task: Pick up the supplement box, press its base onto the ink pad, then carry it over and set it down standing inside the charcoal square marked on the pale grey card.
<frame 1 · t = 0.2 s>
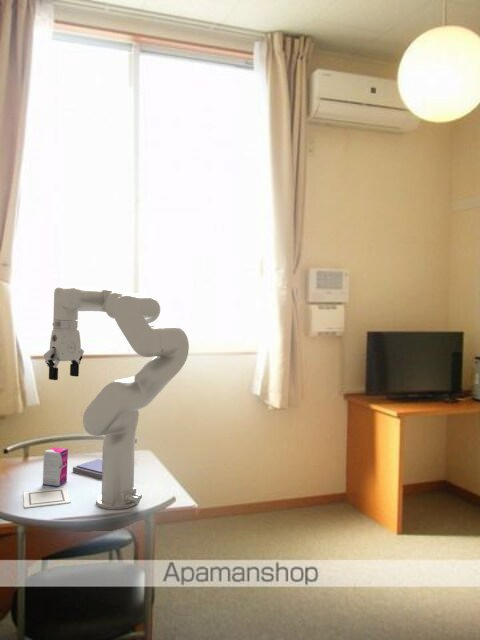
hand: (64, 377, 176), 36 cm above the table, tool pointing down, fingers open, 9 cm apart
supplement box: (55, 484, 179), on the table
marked card: (46, 497, 166), on the table
ink pad: (99, 471, 193), on the table
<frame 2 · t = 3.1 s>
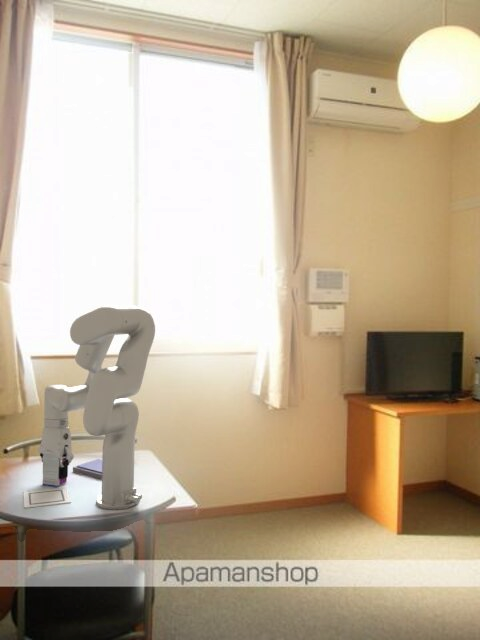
hand: (55, 475, 179), 3 cm above the table, tool pointing down, fingers closed on supplement box, 7 cm apart
supplement box: (54, 484, 179), on the table, touching gripper
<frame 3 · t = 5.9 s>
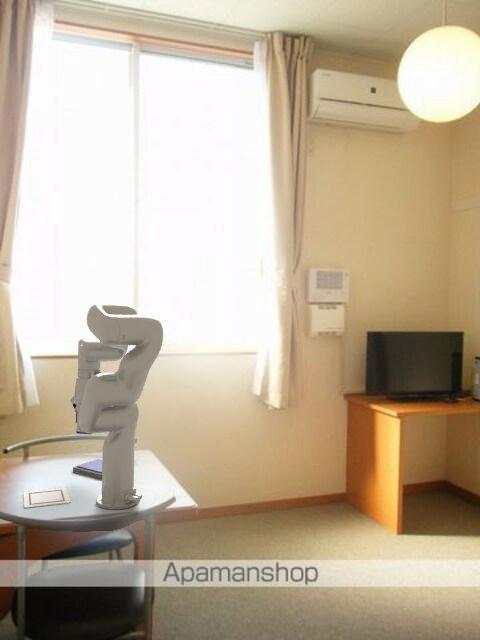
hand: (87, 424, 188), 18 cm above the table, tool pointing down, fingers closed on supplement box, 7 cm apart
supplement box: (87, 432, 188), point 15 cm above the table, touching gripper
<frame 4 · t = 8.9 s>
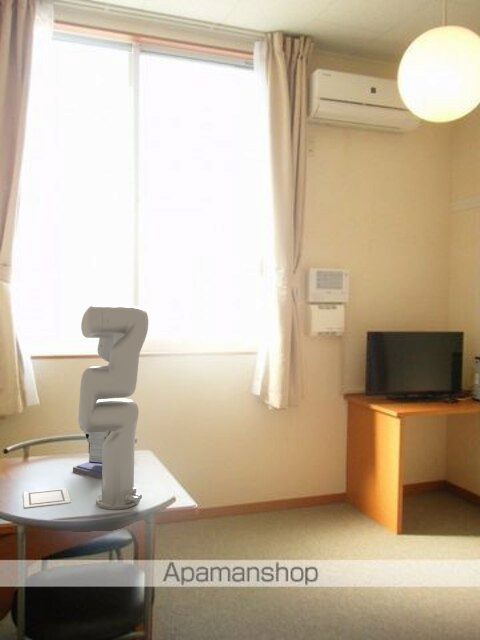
hand: (100, 454, 192), 6 cm above the table, tool pointing down, fingers closed on supplement box, 7 cm apart
supplement box: (100, 462, 192), point 3 cm above the table, touching gripper
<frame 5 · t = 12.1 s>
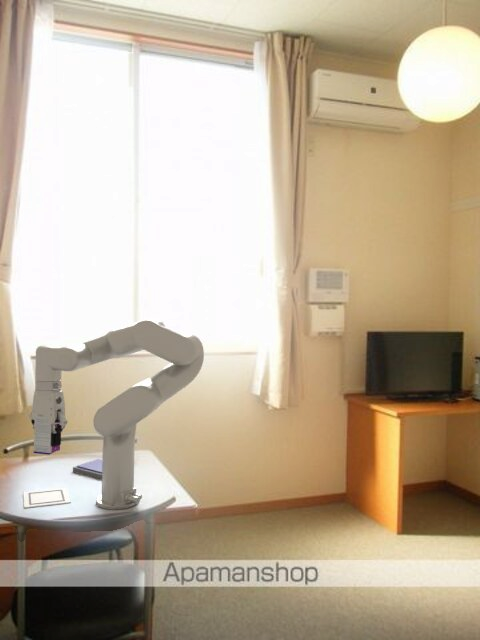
hand: (47, 443, 165), 17 cm above the table, tool pointing down, fingers closed on supplement box, 7 cm apart
supplement box: (47, 452, 165), point 14 cm above the table, touching gripper
when the fingers open (4 cm above the table, at t = 14.8 s): supplement box drops 1 cm, resting on marked card.
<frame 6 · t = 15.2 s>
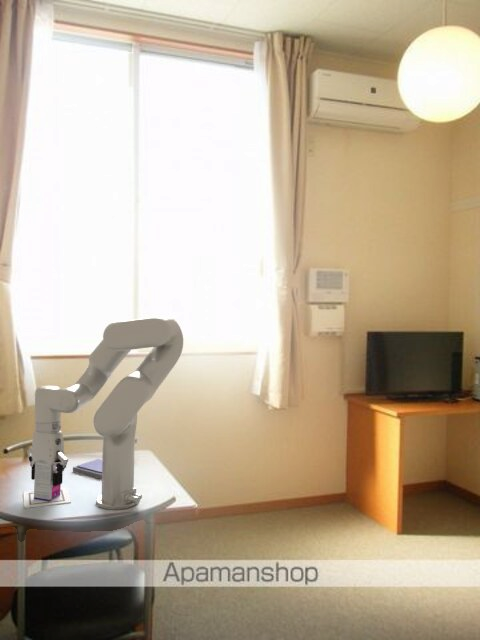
hand: (46, 481, 166), 5 cm above the table, tool pointing down, fingers open, 9 cm apart
supplement box: (47, 497, 166), resting on marked card
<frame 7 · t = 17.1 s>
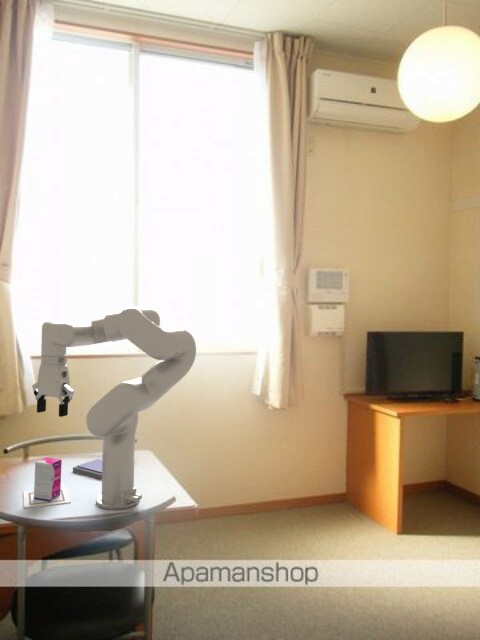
hand: (52, 413, 172), 25 cm above the table, tool pointing down, fingers open, 9 cm apart
nothing on the table moved.
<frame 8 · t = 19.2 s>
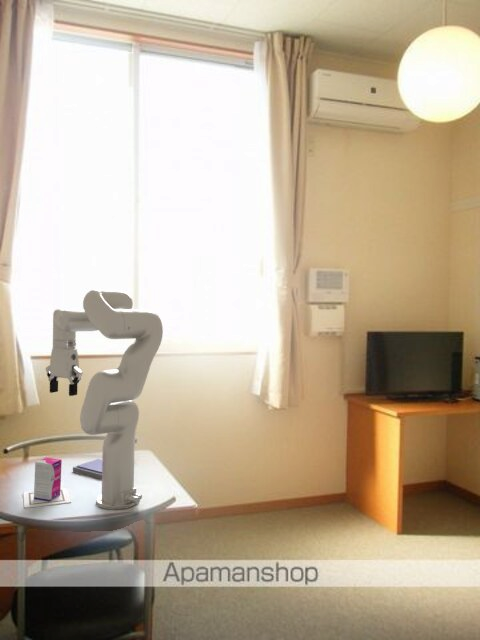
hand: (63, 393, 188), 28 cm above the table, tool pointing down, fingers open, 9 cm apart
nothing on the table moved.
at the end: supplement box 0.4 cm off-centre on the marked card, point 0.1 cm above the marked card's base; supplement box tilted 0°; the gripper is holding nothing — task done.
